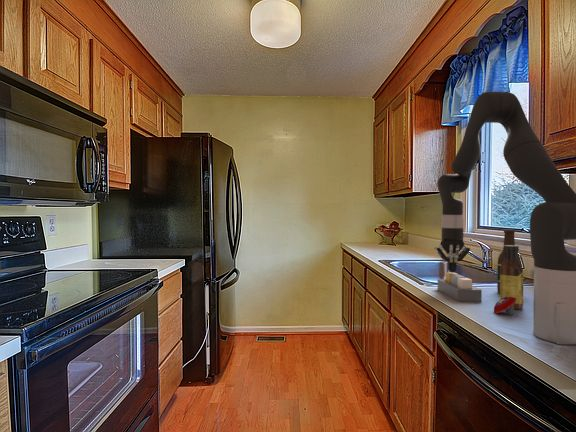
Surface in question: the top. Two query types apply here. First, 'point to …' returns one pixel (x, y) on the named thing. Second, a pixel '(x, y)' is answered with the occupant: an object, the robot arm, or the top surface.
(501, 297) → the sauce bottle
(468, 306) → the top surface
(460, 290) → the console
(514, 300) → the button
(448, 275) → the ochre key
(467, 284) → the ivory key
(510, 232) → the beer bottle
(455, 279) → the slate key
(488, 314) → the top surface
